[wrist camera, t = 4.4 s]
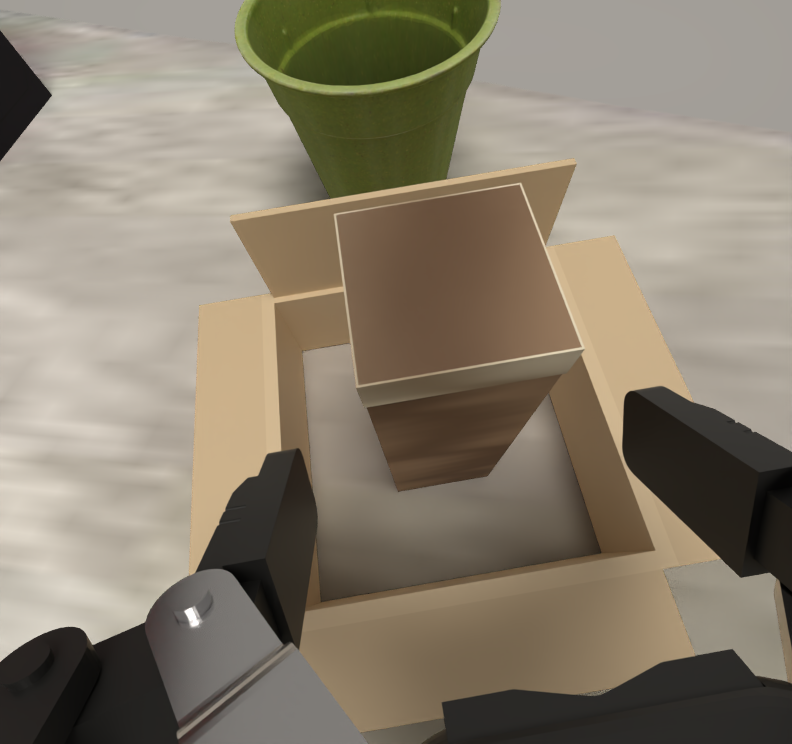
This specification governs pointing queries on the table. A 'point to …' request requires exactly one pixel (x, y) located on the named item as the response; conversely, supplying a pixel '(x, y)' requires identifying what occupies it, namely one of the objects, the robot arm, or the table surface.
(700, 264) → the table surface
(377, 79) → the plant pot
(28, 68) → the product box
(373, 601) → the carton
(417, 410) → the walnut box
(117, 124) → the table surface
